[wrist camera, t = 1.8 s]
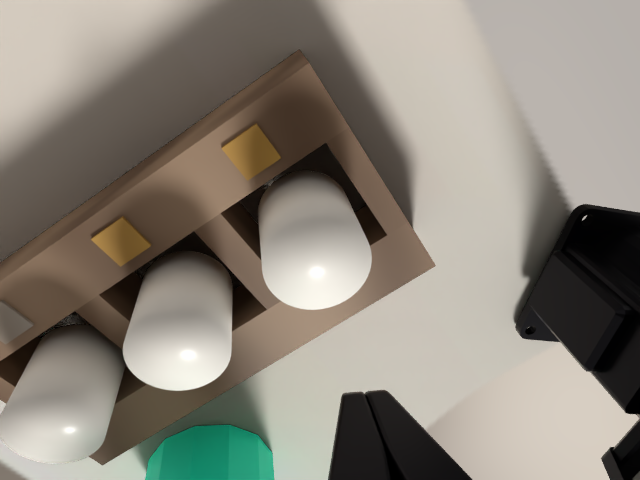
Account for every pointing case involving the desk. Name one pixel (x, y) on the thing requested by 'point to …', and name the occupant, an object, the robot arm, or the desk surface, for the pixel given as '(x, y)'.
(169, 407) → the button board
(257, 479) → the candle
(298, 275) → the button near
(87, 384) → the button far
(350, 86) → the desk surface
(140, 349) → the button middle
